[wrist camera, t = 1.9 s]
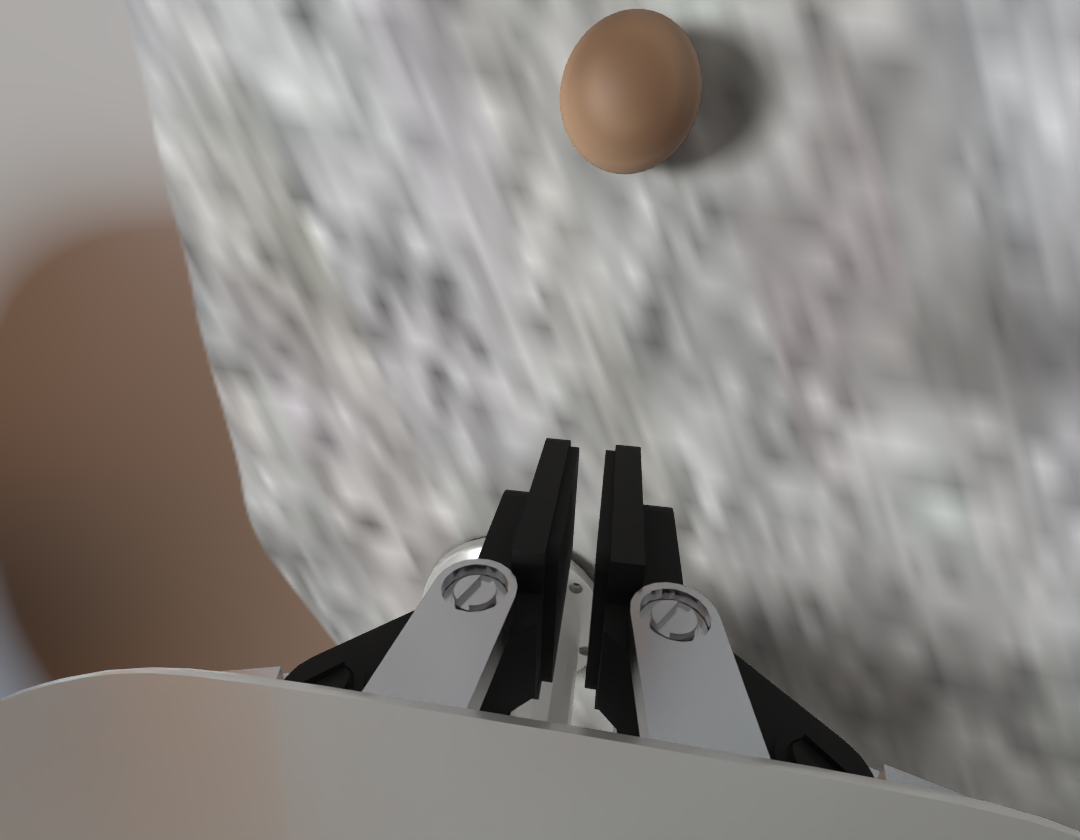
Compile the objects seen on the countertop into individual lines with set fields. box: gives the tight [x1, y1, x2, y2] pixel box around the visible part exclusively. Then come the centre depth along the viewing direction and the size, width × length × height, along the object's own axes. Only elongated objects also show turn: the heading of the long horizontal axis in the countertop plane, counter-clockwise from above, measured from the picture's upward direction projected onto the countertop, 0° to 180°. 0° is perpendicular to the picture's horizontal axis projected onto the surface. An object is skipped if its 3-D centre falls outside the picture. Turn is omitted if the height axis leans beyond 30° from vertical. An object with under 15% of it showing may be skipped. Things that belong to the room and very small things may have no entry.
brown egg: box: [560, 9, 702, 174], centre depth 21 cm, size 6×6×6 cm
